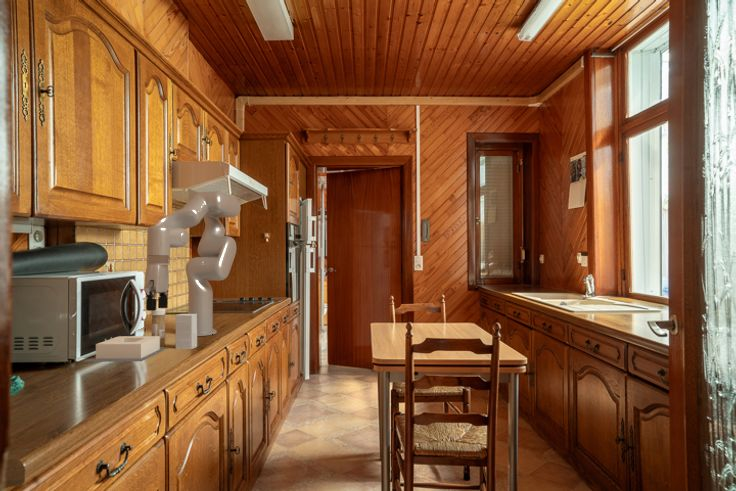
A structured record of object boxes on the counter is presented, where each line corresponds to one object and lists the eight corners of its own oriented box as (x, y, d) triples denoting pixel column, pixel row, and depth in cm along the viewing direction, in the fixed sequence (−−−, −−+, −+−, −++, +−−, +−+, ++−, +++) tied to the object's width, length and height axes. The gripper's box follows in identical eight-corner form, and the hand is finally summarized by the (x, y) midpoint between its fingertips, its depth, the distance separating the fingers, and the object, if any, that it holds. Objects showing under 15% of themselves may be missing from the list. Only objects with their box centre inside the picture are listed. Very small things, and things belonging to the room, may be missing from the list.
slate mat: (115, 349, 165) (115, 348, 165) (167, 349, 166) (167, 348, 166) (81, 362, 145) (81, 361, 145) (141, 362, 146) (141, 361, 146)
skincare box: (197, 347, 169) (197, 313, 169) (191, 350, 164) (191, 315, 164) (180, 347, 169) (181, 313, 169) (174, 349, 165) (175, 315, 165)
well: (118, 349, 163) (118, 336, 163) (159, 349, 164) (159, 336, 164) (95, 358, 149) (95, 344, 149) (140, 358, 150) (141, 344, 150)
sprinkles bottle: (166, 347, 169) (166, 309, 169) (152, 348, 166) (152, 310, 167) (163, 345, 173) (163, 308, 173) (150, 346, 170) (150, 309, 170)
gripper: (157, 261, 178) (156, 307, 178) (136, 260, 161) (135, 311, 160) (178, 261, 179) (177, 307, 178) (158, 260, 161) (157, 311, 160)
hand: (157, 309), depth 169 cm, fingers open, 9 cm apart
